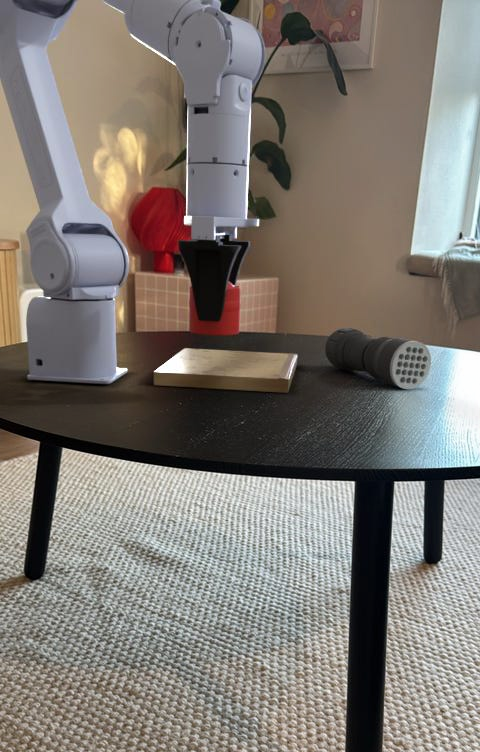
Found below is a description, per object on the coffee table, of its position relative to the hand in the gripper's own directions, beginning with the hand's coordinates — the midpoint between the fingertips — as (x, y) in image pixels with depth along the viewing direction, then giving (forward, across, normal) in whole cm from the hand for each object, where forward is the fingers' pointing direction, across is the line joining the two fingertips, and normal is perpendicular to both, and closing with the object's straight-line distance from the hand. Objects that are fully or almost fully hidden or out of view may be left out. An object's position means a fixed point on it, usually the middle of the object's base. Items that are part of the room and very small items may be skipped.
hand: (214, 317), depth 74 cm
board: (+8, +15, 0) cm, 17 cm away
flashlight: (+8, +18, -17) cm, 26 cm away
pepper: (+1, 0, 0) cm, 1 cm away
